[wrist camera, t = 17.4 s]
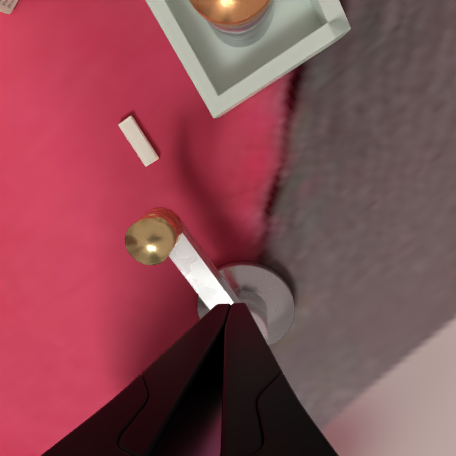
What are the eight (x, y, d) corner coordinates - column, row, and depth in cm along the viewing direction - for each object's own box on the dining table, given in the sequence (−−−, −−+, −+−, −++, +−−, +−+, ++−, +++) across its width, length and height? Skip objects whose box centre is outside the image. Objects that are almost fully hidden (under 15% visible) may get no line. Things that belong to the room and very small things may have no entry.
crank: (275, 317, 22) (278, 371, 17) (238, 334, 23) (231, 390, 18) (183, 185, 19) (157, 208, 15) (145, 211, 20) (109, 239, 16)
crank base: (310, 321, 23) (311, 328, 22) (229, 353, 25) (228, 361, 24) (264, 244, 21) (264, 249, 20) (181, 285, 23) (178, 291, 22)
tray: (341, 38, 17) (351, 28, 15) (218, 117, 19) (213, 118, 17) (271, -122, 15) (272, -156, 13) (144, -13, 17) (128, -29, 15)
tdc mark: (159, 158, 20) (158, 158, 20) (147, 166, 20) (145, 166, 20) (132, 116, 19) (130, 115, 19) (119, 124, 19) (117, 124, 19)
